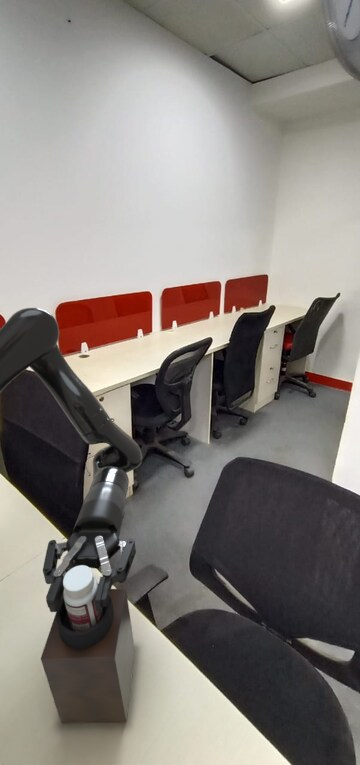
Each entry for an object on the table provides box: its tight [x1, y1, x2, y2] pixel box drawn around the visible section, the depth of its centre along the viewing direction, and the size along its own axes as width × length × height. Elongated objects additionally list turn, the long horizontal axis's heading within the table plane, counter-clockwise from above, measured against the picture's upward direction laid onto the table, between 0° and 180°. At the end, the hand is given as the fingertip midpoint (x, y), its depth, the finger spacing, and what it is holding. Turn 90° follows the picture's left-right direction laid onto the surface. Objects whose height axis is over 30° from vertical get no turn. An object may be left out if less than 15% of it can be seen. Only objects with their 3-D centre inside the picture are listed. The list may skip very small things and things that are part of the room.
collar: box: [55, 583, 114, 649], centre depth 52 cm, size 8×8×3 cm
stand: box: [40, 588, 136, 724], centre depth 55 cm, size 10×10×16 cm
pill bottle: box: [63, 565, 103, 631], centre depth 50 cm, size 5×5×8 cm
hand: (75, 607), depth 47 cm, fingers open, 5 cm apart
